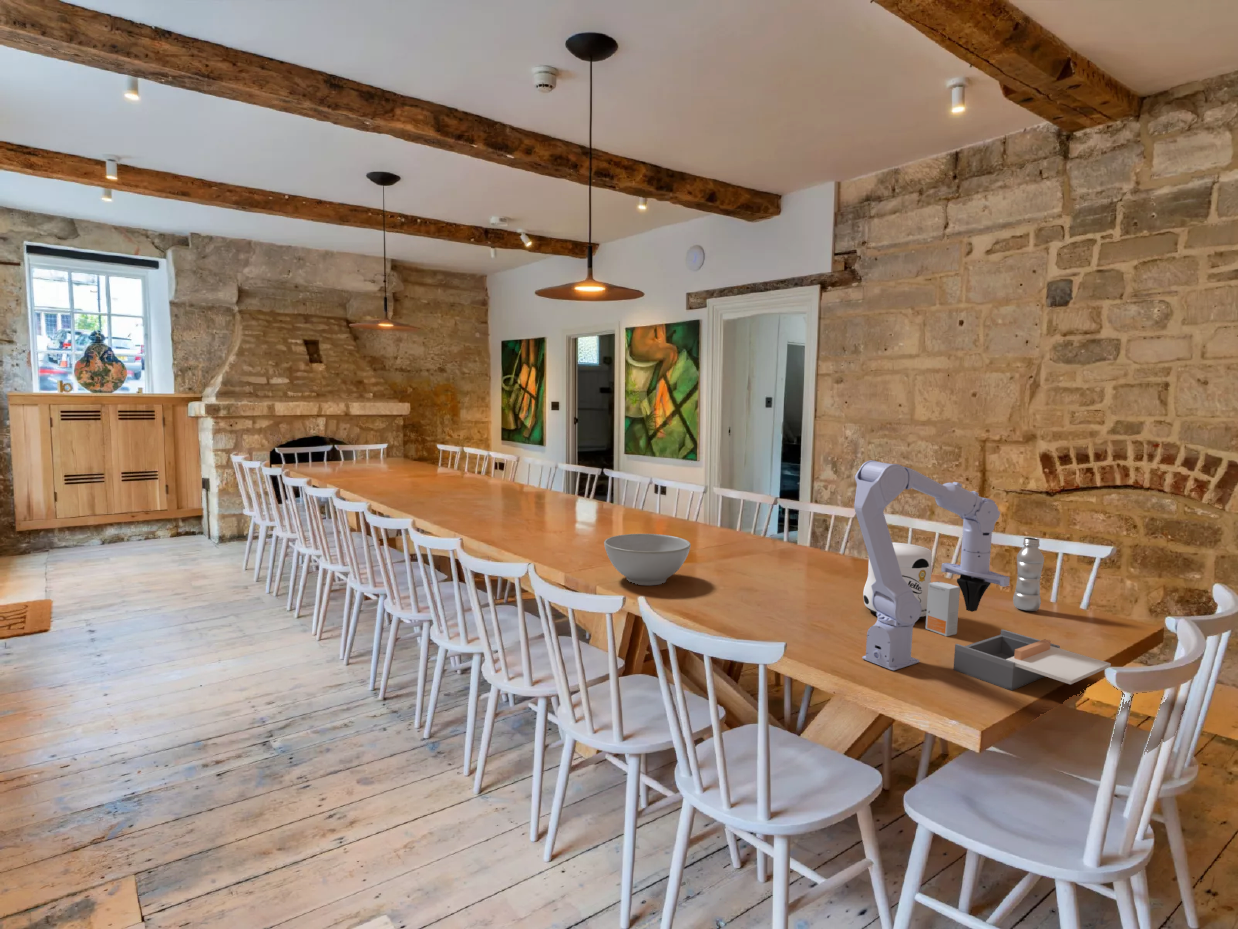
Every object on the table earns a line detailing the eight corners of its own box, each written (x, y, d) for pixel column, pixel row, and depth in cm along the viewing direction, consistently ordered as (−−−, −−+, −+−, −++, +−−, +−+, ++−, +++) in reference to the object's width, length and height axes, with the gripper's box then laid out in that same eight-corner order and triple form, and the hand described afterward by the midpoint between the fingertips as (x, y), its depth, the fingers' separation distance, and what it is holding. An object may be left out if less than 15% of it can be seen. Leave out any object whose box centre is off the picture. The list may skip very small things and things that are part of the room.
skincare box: (924, 629, 170) (927, 582, 169) (935, 626, 172) (938, 580, 171) (946, 637, 165) (950, 588, 164) (957, 634, 167) (960, 586, 166)
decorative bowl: (689, 571, 224) (690, 535, 223) (689, 594, 197) (690, 553, 196) (608, 568, 226) (609, 532, 225) (598, 590, 200) (598, 549, 199)
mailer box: (1011, 690, 134) (1013, 663, 134) (953, 669, 144) (955, 644, 144) (1057, 671, 144) (1059, 645, 144) (1000, 653, 154) (1002, 629, 154)
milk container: (889, 626, 171) (894, 556, 170) (849, 606, 188) (852, 542, 186) (947, 622, 176) (951, 554, 174) (902, 602, 193) (906, 540, 191)
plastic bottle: (1023, 605, 192) (1028, 535, 190) (1045, 612, 186) (1051, 540, 184) (1006, 607, 190) (1011, 537, 188) (1029, 614, 183) (1034, 541, 181)
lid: (1070, 684, 126) (1071, 671, 126) (1004, 662, 136) (1005, 650, 136) (1110, 666, 135) (1111, 654, 135) (1046, 647, 145) (1046, 636, 145)
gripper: (1019, 555, 147) (1014, 616, 148) (955, 542, 159) (951, 599, 160) (1000, 558, 143) (996, 621, 144) (937, 545, 155) (933, 603, 156)
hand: (971, 610), depth 152 cm, fingers closed
